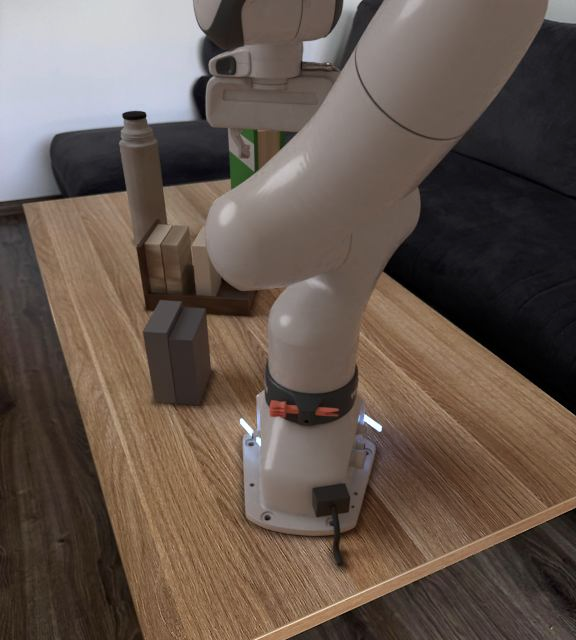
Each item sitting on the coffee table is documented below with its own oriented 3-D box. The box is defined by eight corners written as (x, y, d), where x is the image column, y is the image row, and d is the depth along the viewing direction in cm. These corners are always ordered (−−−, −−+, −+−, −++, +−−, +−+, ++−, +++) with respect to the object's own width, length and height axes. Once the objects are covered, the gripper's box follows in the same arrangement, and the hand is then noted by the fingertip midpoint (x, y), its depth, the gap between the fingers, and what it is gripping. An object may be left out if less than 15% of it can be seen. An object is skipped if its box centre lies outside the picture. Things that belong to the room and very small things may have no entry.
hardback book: (284, 230, 144) (285, 126, 129) (256, 235, 142) (253, 129, 127) (258, 205, 157) (256, 108, 142) (232, 209, 154) (227, 111, 140)
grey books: (211, 371, 98) (205, 302, 90) (199, 405, 91) (191, 334, 83) (169, 368, 99) (159, 299, 91) (154, 402, 92) (142, 331, 84)
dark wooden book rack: (258, 284, 122) (257, 223, 114) (248, 316, 112) (246, 252, 104) (164, 278, 124) (156, 218, 116) (146, 310, 114) (135, 247, 106)
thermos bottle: (151, 230, 143) (133, 106, 126) (176, 238, 140) (161, 111, 123) (127, 242, 138) (106, 113, 121) (153, 250, 135) (134, 119, 118)
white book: (221, 282, 121) (217, 226, 114) (212, 304, 114) (207, 246, 106) (207, 281, 121) (202, 226, 114) (197, 303, 114) (191, 245, 107)
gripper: (346, 59, 85) (341, 157, 94) (211, 54, 89) (218, 150, 97) (340, 66, 80) (335, 170, 89) (197, 61, 84) (206, 161, 92)
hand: (273, 159), depth 93 cm, fingers open, 8 cm apart
